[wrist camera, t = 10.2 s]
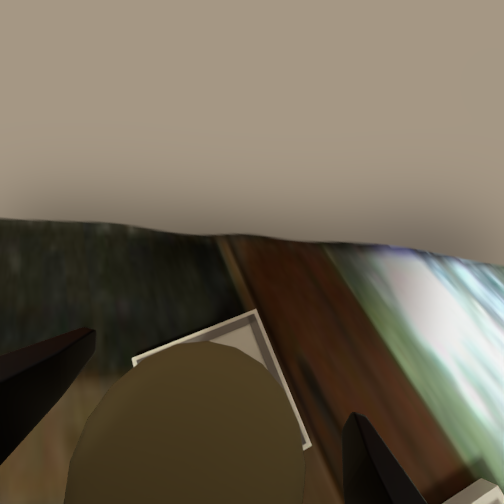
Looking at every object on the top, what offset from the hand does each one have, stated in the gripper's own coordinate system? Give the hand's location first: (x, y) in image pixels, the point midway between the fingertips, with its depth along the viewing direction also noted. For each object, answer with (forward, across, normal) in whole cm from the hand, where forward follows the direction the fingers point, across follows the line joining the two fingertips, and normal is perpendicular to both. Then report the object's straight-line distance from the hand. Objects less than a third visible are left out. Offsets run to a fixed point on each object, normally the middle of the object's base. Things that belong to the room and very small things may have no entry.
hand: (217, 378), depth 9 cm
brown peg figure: (+4, 0, +6) cm, 8 cm away
